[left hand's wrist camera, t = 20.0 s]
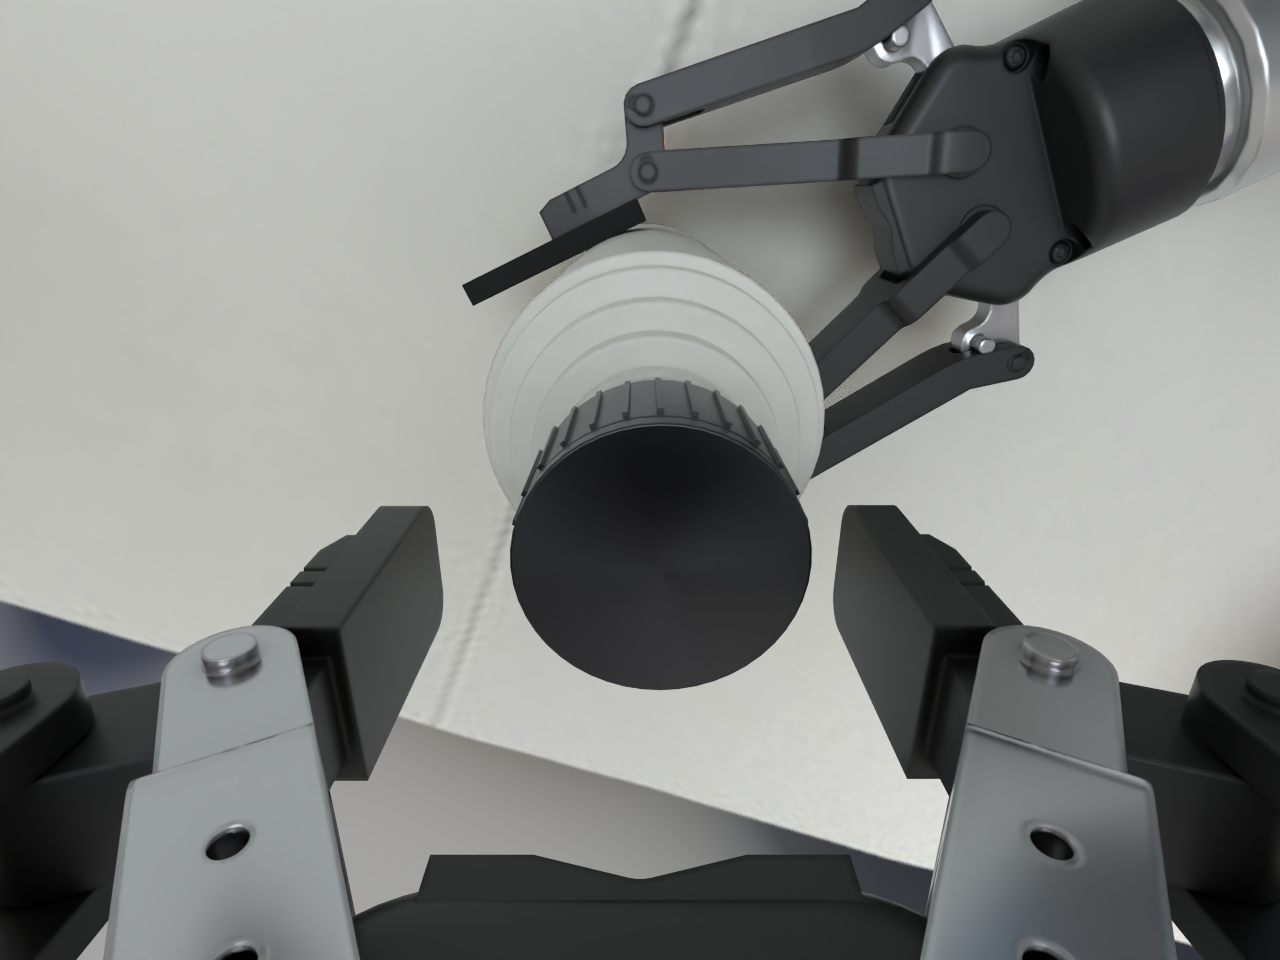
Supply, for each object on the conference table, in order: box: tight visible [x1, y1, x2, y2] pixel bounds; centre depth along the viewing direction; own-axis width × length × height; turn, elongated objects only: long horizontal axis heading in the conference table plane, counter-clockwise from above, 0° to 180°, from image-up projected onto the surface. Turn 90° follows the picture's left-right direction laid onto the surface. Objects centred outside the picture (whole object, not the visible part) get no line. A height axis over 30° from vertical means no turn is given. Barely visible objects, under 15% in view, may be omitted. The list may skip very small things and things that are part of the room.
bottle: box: [483, 224, 825, 512], centre depth 21 cm, size 7×7×23 cm
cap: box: [510, 377, 812, 690], centre depth 10 cm, size 4×4×2 cm
